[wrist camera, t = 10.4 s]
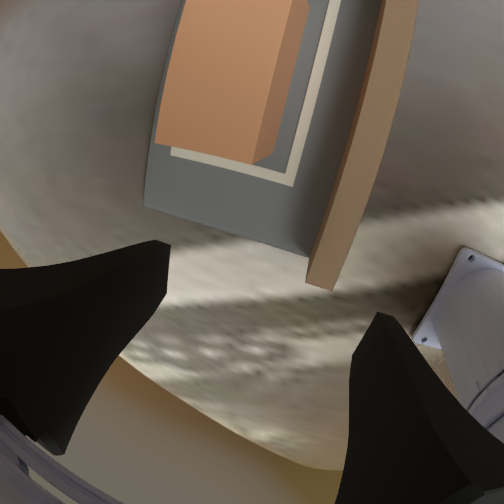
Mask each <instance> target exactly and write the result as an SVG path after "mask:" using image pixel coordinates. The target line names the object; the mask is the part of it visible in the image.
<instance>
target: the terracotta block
mask: <svg viewBox="0 0 504 504" xmlns="http://www.w3.org/2000/svg"><path fill="white" fill-rule="evenodd" d="M308 13H309V3H308V0H186V3H185V6H184V9H183V13H182V16H181V20H180V23H179V27H178V31H177V34H176V38H175V42H174V46H173V50H172V54H171V58H170V63H169V67H168V71H167V76H166V81H165V85H164V90H163V95H162V101H161V106H160V112H159V117H158V123H157V129H156V136H155V143H157V144H162V145H167V146H172V147H177V148H182V149H186V150H191V151H196V152H200V153H205V154H209V155H213V156H217V157H222V158H226V159H230V160H234V161H238V162H242V163H246V164H250V165H252V164H254V163H256V162H258V161H260V160H261V159H263V158H265V157H267V156H269V155H270V154H272V153H273V152H274V148H275V144H276V140H277V136H278V132H279V128H280V124H281V120H282V116H283V112H284V108H285V104H286V100H287V96H288V92H289V88H290V84H291V80H292V76H293V72H294V68H295V64H296V60H297V56H298V52H299V48H300V44H301V40H302V36H303V32H304V28H305V24H306V21H307V17H308Z"/></svg>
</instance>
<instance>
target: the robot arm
mask: <svg viewBox="0 0 504 504" xmlns="http://www.w3.org/2000/svg"><path fill="white" fill-rule="evenodd" d="M170 248H171V245H169V244H166V243H163V242H160V241H158V240H151V241H146V242H142V243H138V244H135V245H131V246H128V247H124V248H121V249H117V250H114V251H110V252H107V253H103V254H99V255H95V256H91V257H88V258H84V259H80V260H76V261H71V262H66V263H61V264H55V265H49V266H40V267H30V268H19V269H0V504H65V503H64V502H62V501H61V500H59V499H58V498H57V497H55V496H54V495H53V494H51V493H50V492H49V491H47V490H46V489H44V488H43V487H42V486H41V485H39V484H38V483H37V482H35V481H34V480H33V479H32V478H31V477H30V476H29V469H28V467H27V465H28V466H29V467H30V468H31V469H32V470H34V471H35V472H36V473H37V474H39V475H40V476H41V477H42V478H44V479H45V480H46V481H47V482H49V483H50V484H51V485H53V486H54V487H56V488H57V489H58V490H60V491H61V492H63V493H64V494H65V495H67V496H68V497H70V498H71V499H73V500H74V501H76V502H77V503H79V504H124V503H122V502H121V501H119V500H117V499H115V498H113V497H111V496H109V495H108V494H106V493H104V492H102V491H101V490H99V489H97V488H96V487H94V486H92V485H91V484H89V483H87V482H86V481H84V480H83V479H81V478H80V477H78V476H77V475H75V474H74V473H72V472H71V471H69V470H68V469H66V468H65V467H63V466H62V465H61V464H59V463H58V462H57V461H55V460H54V459H52V458H51V457H50V456H49V455H47V454H46V453H45V452H43V451H42V450H41V449H40V448H39V447H37V446H36V445H35V444H34V443H32V442H31V441H30V440H29V439H28V438H27V437H25V436H26V435H27V436H28V437H29V438H31V439H32V440H33V441H34V442H38V443H39V444H40V445H41V446H43V447H44V448H45V449H46V450H48V451H49V452H50V453H52V454H53V455H56V456H57V455H63V454H65V451H66V448H67V446H68V443H69V441H70V439H71V436H72V434H73V432H74V430H75V427H76V425H77V423H78V421H79V419H80V417H81V415H82V413H83V411H84V409H85V407H86V405H87V404H88V402H89V400H90V398H91V396H92V395H93V393H94V391H95V390H96V388H97V386H98V384H99V383H100V381H101V380H102V378H103V377H104V375H105V373H106V372H107V370H108V369H109V367H110V366H111V364H112V363H113V362H114V360H115V359H116V358H117V356H118V355H119V354H120V353H121V352H122V350H123V349H124V348H125V347H126V346H127V344H128V343H129V342H130V341H131V340H132V339H133V337H134V336H135V335H136V334H137V333H138V332H139V331H140V329H141V328H142V327H143V326H144V325H145V323H146V322H147V321H148V320H149V319H150V318H151V316H152V315H153V314H154V312H155V311H156V309H157V308H158V306H159V305H160V303H161V301H162V300H163V298H164V297H165V295H166V293H167V280H168V269H169V258H170ZM471 255H473V256H472V258H471V259H470V260H468V259H469V257H470V256H471ZM424 337H426V338H425V339H422V338H424ZM412 339H413V341H414V342H415V343H418V344H422V345H425V346H429V347H433V348H437V349H441V350H442V351H443V354H444V357H445V360H446V363H447V366H448V369H449V372H450V375H451V379H452V382H453V385H454V389H455V392H456V396H457V399H458V400H457V399H456V398H455V397H454V396H453V395H452V394H451V392H450V391H449V390H448V389H447V388H446V386H445V385H444V384H443V383H442V381H441V380H440V379H439V377H438V376H437V375H436V373H435V372H434V371H433V370H432V368H431V367H430V365H429V364H428V363H427V361H426V360H425V359H424V357H423V356H422V354H421V353H420V351H419V350H418V349H417V347H416V346H415V344H414V343H413V341H412V340H411V339H410V337H409V336H408V334H407V333H406V332H405V330H404V329H403V328H402V326H401V325H400V324H399V322H398V321H397V320H396V319H395V318H394V317H393V316H390V315H387V314H384V313H380V312H377V313H376V315H375V317H374V319H373V321H372V322H371V324H370V326H369V328H368V329H367V331H366V333H365V335H364V336H363V338H362V340H361V341H360V343H359V345H358V346H357V348H356V350H355V351H354V353H353V354H352V362H351V369H350V378H349V437H348V448H347V453H346V459H345V465H344V470H343V474H342V479H341V483H340V487H339V491H338V495H337V498H336V501H335V504H504V264H502V263H500V262H497V261H495V260H493V259H491V258H489V257H487V256H485V255H483V254H481V253H479V252H476V251H474V250H472V249H470V248H468V247H464V248H462V249H461V250H460V251H459V253H458V255H457V257H456V259H455V261H454V263H453V266H452V267H451V269H450V271H449V273H448V275H447V277H446V279H445V281H444V283H443V285H442V287H441V288H440V290H439V292H438V294H437V296H436V297H435V299H434V301H433V303H432V304H431V306H430V308H429V309H428V311H427V313H426V314H425V316H424V318H423V319H422V321H421V322H420V324H419V326H418V327H417V329H416V330H415V332H414V333H413V335H412Z"/></svg>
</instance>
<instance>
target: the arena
mask: <svg viewBox="0 0 504 504" xmlns="http://www.w3.org/2000/svg"><path fill="white" fill-rule="evenodd" d="M185 3H186V0H182V2H181V6H180V9H179V12H178V15H177V19H176V22H175V26H174V30H173V33H172V37H171V41H170V45H169V49H168V53H167V57H166V61H165V66H164V70H163V75H162V79H161V84H160V89H159V94H158V99H157V104H156V110H155V116H154V122H153V128H152V134H151V141H150V148H149V155H148V163H147V171H146V180H145V190H144V200H143V206H144V207H147V208H150V209H154V210H157V211H160V212H164V213H167V214H170V215H174V216H177V217H180V218H183V219H187V220H190V221H193V222H196V223H200V224H203V225H206V226H209V227H213V228H216V229H219V230H222V231H225V232H229V233H232V234H235V235H238V236H241V237H245V238H248V239H251V240H254V241H257V242H261V243H264V244H267V245H270V246H273V247H276V248H280V249H283V250H286V251H289V252H292V253H295V254H298V255H302V256H305V257H308V258H309V262H308V269H307V275H306V281H305V283H308V284H311V285H314V286H318V287H321V288H324V289H327V290H330V291H332V290H333V288H334V286H335V283H336V281H337V279H338V276H339V274H340V272H341V269H342V267H343V264H344V262H345V259H346V257H347V254H348V252H349V249H350V247H351V244H352V242H353V239H354V237H355V234H356V231H357V229H358V226H359V223H360V221H361V218H362V215H363V213H364V210H365V207H366V204H367V201H368V199H369V196H370V193H371V190H372V187H373V184H374V181H375V178H376V175H377V172H378V169H379V166H380V163H381V160H382V156H383V153H384V150H385V147H386V143H387V140H388V136H389V133H390V130H391V126H392V122H393V119H394V115H395V111H396V108H397V104H398V100H399V96H400V92H401V88H402V84H403V80H404V75H405V71H406V66H407V62H408V57H409V52H410V47H411V42H412V37H413V31H414V26H415V20H416V13H417V7H418V0H308V3H309V13H308V17H307V21H306V24H305V28H304V32H303V36H302V40H301V44H300V48H299V52H298V56H297V60H296V64H295V68H294V72H293V76H292V80H291V84H290V88H289V92H288V96H287V100H286V104H285V108H284V112H283V116H282V120H281V124H280V128H279V132H278V136H277V140H276V144H275V148H274V152H273V153H272V154H270V155H269V156H267V157H265V158H263V159H261V160H260V161H258V162H256V163H254V164H252V165H250V164H246V163H242V162H238V161H234V160H230V159H226V158H222V157H217V156H213V155H209V154H205V153H200V152H196V151H191V150H186V149H182V148H177V147H172V146H167V145H162V144H157V143H155V136H156V129H157V123H158V117H159V112H160V106H161V101H162V95H163V90H164V85H165V81H166V76H167V71H168V67H169V63H170V58H171V54H172V50H173V46H174V42H175V38H176V34H177V31H178V27H179V23H180V20H181V16H182V13H183V9H184V6H185Z"/></svg>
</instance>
